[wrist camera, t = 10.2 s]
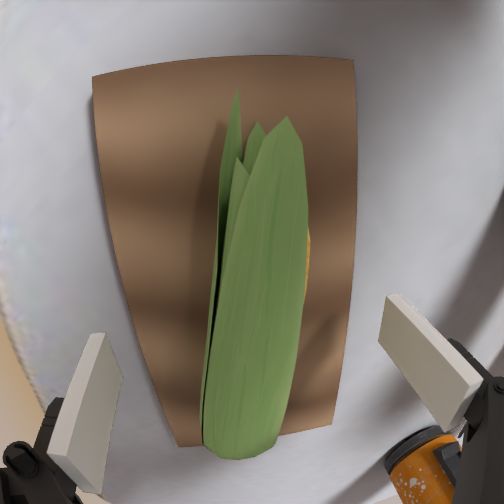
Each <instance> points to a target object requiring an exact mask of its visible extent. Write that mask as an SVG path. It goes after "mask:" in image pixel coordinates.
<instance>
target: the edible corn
mask: <svg viewBox="0 0 504 504" xmlns="http://www.w3.org/2000/svg"><path fill="white" fill-rule="evenodd" d="M309 256H310V235H309V229H308V199H307V187H306V176H305V165H304V155H303V146H302V142H301V140H300V138H299V137H298V135H297V133H296V131H295V129H294V127H293V126H292V124H291V122H290V120H289V119H288V117H287V116H286V117H285V118H284V119H283V120H282V121H281V122H280V123H279V124H278V125H277V126H276V127H275V128H274V129H273V130H272V131H271V132H270V133H269V134H268V135H266V133H265V132H264V130H263V129H262V127H261V126H260V124H259V123H258V121H257V122H256V124H255V126H254V127H253V129H252V131H251V133H250V135H249V137H248V139H247V145H246V151H245V157H244V162H243V151H242V134H241V118H240V104H239V93H238V88H237V91H236V94H235V97H234V100H233V104H232V107H231V112H230V118H229V123H228V128H227V134H226V139H225V145H224V150H223V156H222V161H221V167H220V179H219V198H218V219H217V239H216V248H215V258H214V267H213V277H212V286H211V297H210V307H209V318H208V329H207V339H206V348H205V356H204V365H203V374H202V384H201V396H200V414H199V419H200V425H201V432H202V444H203V445H204V446H205V447H207V448H208V449H209V450H211V451H212V452H213V453H215V454H216V455H217V456H218V457H220V458H223V459H233V460H240V459H246V458H252V457H255V456H257V455H259V454H261V453H263V452H265V451H266V450H268V449H270V448H272V447H273V446H274V444H275V443H276V440H277V437H278V435H279V432H280V429H281V425H282V422H283V418H284V415H285V411H286V407H287V403H288V398H289V394H290V389H291V384H292V379H293V374H294V369H295V364H296V358H297V350H298V343H299V335H300V328H301V320H302V311H303V304H304V299H305V294H306V289H307V279H308V268H309Z"/></svg>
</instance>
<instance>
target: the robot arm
mask: <svg viewBox="0 0 504 504" xmlns="http://www.w3.org/2000/svg"><path fill="white" fill-rule="evenodd" d="M378 342H379V343H380V344H381V346H382V347H383V348H384V350H385V351H386V352H387V354H388V355H389V356H390V358H391V359H392V360H393V362H394V363H395V364H396V366H397V367H398V368H399V370H400V371H401V372H402V374H403V375H404V377H405V378H406V379H407V381H408V382H409V383H410V385H411V386H412V388H413V389H414V390H415V392H416V393H417V394H418V396H419V397H420V399H421V400H422V401H423V403H424V404H425V406H426V407H427V408H428V410H429V411H430V413H431V414H432V416H433V417H434V418H435V420H436V421H437V423H438V424H439V426H440V427H441V428H442V430H443V431H444V433H445V432H447V431H449V430H451V429H453V428H455V427H457V426H458V425H459V423H460V422H461V420H462V418H463V417H465V419H466V420H467V422H466V424H465V426H464V427H463V429H462V430H461V432H460V433H459V436H458V438H460V437H461V436H462V434H463V433H464V437H463V445H462V452H461V459H460V465H459V471H458V476H457V481H456V486H455V491H454V495H453V500H452V504H504V377H493V376H492V375H491V374H490V373H489V372H488V371H487V370H486V369H485V368H484V367H483V366H482V365H481V364H480V363H479V362H478V361H477V360H476V359H475V358H473V356H472V355H471V354H470V353H469V352H468V351H467V350H466V349H465V348H464V347H463V346H462V345H461V344H460V343H459V342H457V341H455V340H453V339H448V340H446V339H445V338H444V337H443V336H442V335H441V334H440V333H439V332H438V331H437V330H436V329H435V328H434V327H433V326H432V325H431V324H430V323H429V322H428V321H427V320H426V319H425V318H424V317H423V316H422V315H421V314H420V313H419V312H418V311H417V310H416V309H415V308H414V307H413V306H412V305H411V304H410V303H409V302H408V301H407V300H406V299H404V298H403V297H402V296H401V295H400V294H399V293H398V294H393V295H388V296H386V300H385V306H384V312H383V317H382V323H381V328H380V334H379V339H378ZM122 379H123V376H122V374H121V371H120V369H119V366H118V364H117V361H116V359H115V356H114V353H113V351H112V348H111V346H110V343H109V340H108V337H107V335H106V333H91V334H90V336H89V339H88V341H87V343H86V346H85V348H84V350H83V353H82V355H81V358H80V360H79V362H78V365H77V367H76V370H75V372H74V375H73V378H72V380H71V383H70V385H69V388H68V391H67V393H66V396H65V398H57V397H56V398H55V399H54V400H53V401H52V402H51V404H50V405H49V406H48V408H47V411H46V414H45V418H44V419H43V422H42V426H41V427H40V430H39V433H38V435H37V438H36V441H35V444H34V447H33V448H32V447H31V446H30V445H29V444H28V443H26V442H24V441H17V442H13V443H12V444H10V445H9V446H7V448H6V449H5V451H4V454H3V463H4V464H5V465H6V466H7V468H0V504H83V503H82V501H81V499H80V498H79V496H78V495H77V494H76V493H75V492H76V486H78V487H79V488H80V489H81V490H82V491H83V492H87V493H94V494H102V488H103V481H104V474H105V467H106V461H107V455H108V449H109V443H110V437H111V432H112V427H113V421H114V416H115V411H116V406H117V402H118V397H119V392H120V388H121V383H122Z"/></svg>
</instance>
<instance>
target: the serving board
mask: <svg viewBox="0 0 504 504" xmlns="http://www.w3.org/2000/svg"><path fill="white" fill-rule="evenodd" d="M237 88H238V93H239V104H240V118H241V134H242V151H243V162H244V157H245V151H246V145H247V139H248V137H249V135H250V133H251V131H252V129H253V127H254V126H255V124H256V122H257V121H258V123H259V124H260V126H261V127H262V129H263V130H264V132H265V133H266V135H268V134H269V133H270V132H271V131H272V130H273V129H274V128H275V127H276V126H277V125H278V124H279V123H280V122H281V121H282V120H283V119H284V118H285V117H286V116H287V117H288V119H289V120H290V122H291V124H292V126H293V127H294V129H295V131H296V133H297V135H298V137H299V138H300V140H301V142H302V146H303V155H304V165H305V176H306V187H307V199H308V229H309V235H310V256H309V268H308V279H307V289H306V294H305V299H304V304H303V311H302V320H301V328H300V335H299V343H298V350H297V358H296V364H295V369H294V374H293V379H292V384H291V389H290V394H289V398H288V403H287V407H286V411H285V415H284V418H283V422H282V425H281V429H280V432H279V435H278V436H280V435H286V434H291V433H296V432H301V431H305V430H310V429H314V428H319V427H323V426H327V425H331V424H332V421H333V416H334V411H335V405H336V400H337V394H338V389H339V383H340V377H341V370H342V364H343V357H344V350H345V343H346V335H347V327H348V319H349V310H350V300H351V290H352V279H353V267H354V253H355V236H356V215H357V113H356V92H355V77H354V64H353V60H348V59H338V58H327V57H312V56H288V55H249V56H226V57H211V58H199V59H189V60H180V61H172V62H165V63H158V64H152V65H146V66H140V67H134V68H129V69H124V70H119V71H114V72H110V73H105V74H101V75H97V76H93V77H92V89H93V106H94V119H95V130H96V140H97V149H98V157H99V165H100V172H101V179H102V186H103V192H104V198H105V204H106V210H107V216H108V221H109V226H110V231H111V236H112V241H113V246H114V250H115V255H116V259H117V263H118V268H119V272H120V276H121V280H122V284H123V288H124V292H125V295H126V299H127V303H128V307H129V310H130V314H131V317H132V321H133V324H134V327H135V331H136V334H137V337H138V340H139V344H140V347H141V350H142V353H143V356H144V359H145V362H146V365H147V368H148V371H149V373H150V376H151V379H152V382H153V385H154V387H155V390H156V393H157V395H158V398H159V401H160V403H161V406H162V408H163V411H164V413H165V416H166V418H167V421H168V423H169V426H170V428H171V430H172V433H173V435H174V437H175V440H176V442H177V444H178V447H192V446H204V445H203V444H202V432H201V425H200V419H199V414H200V396H201V384H202V374H203V365H204V356H205V348H206V339H207V329H208V318H209V307H210V297H211V286H212V277H213V267H214V258H215V248H216V239H217V219H218V198H219V179H220V167H221V161H222V156H223V150H224V145H225V139H226V134H227V128H228V123H229V118H230V112H231V107H232V104H233V100H234V97H235V94H236V91H237Z"/></svg>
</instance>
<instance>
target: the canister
mask: <svg viewBox="0 0 504 504" xmlns="http://www.w3.org/2000/svg"><path fill="white" fill-rule="evenodd" d="M461 452H462V447H461V446H460V445H459V442H458V441H457V440H456V439H455V437H454V436H453V435H451V432H450V430H449V431H447V432H445V433H444V431H443V430H442V428H441V427H440V426H439V425H438V426H434V427H431V428H429V429H426V430H424V431H421V432H419V433H417V434H416V435H414V436H412V437H411V438H409V439H408V440H406V441H405V442H404V443H403V444H401V445H400V446H399V447H398V448H397V449H396V450H395V452H393V453H392V455H391V456H390V457H389V458H388V459H387V461H386V463H385V469H386V471H387V473H388V474H389V475H390V479H391V481H392V483H393V485H394V487H395V489H396V491H397V493H398V495H399V497H400V499H401V500H402V502H403V504H452V500H453V495H454V491H455V486H456V481H457V476H458V471H459V465H460V459H461Z"/></svg>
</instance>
